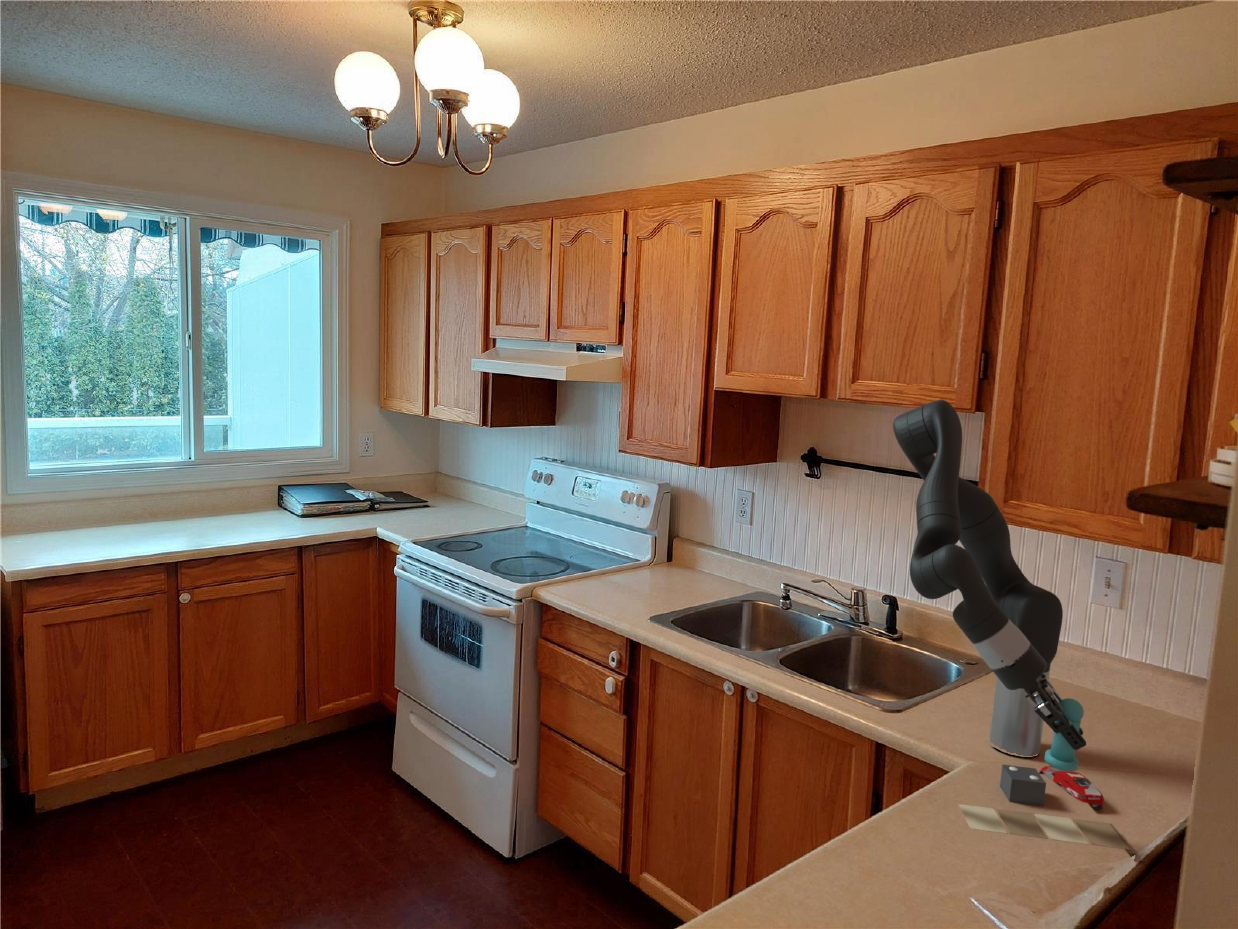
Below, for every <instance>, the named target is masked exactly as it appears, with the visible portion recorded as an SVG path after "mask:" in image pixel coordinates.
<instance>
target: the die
mask: <svg viewBox="0 0 1238 929" xmlns="http://www.w3.org/2000/svg"><path fill="white" fill-rule="evenodd" d="M1041 775H1042V774H1039V772H1038V770H1037V769H1036V768H1034V767H1028V766H1027V767H1026V766H1017V765H1012V764H1011V765H1009V764H1004V763H1003V764H1002V765H1001V773H1000V782H999V787H1000V789H1001V791H1002V792H1003V794H1004V796H1005V797H1006V799H1007V800H1008V802H1009V803H1017V804H1025V805H1033V806H1041V807H1043V806H1044V805H1045V804H1044V803H1045V795H1046V787H1047V782H1046V781H1045V779H1044V778H1043V777H1042V776H1041Z"/></svg>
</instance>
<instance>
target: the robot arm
mask: <svg viewBox="0 0 1238 929" xmlns="http://www.w3.org/2000/svg"><path fill="white" fill-rule="evenodd" d="M892 428H893V433H894V437H895V439H896V441H897V444H898V445H899V447H900V449H901V451H902V452H903V453H904V455H905V456H906V458H907V459H908V461H909V462H910V464H911V465H912V467H914V469H915V471H916V472H917V473H918V475H919V476H920V477H921V479H922V480H923V482H922V485H921V487H920V489H919V491H918V494H917V498H916V503H915V512H916V527H917V528H916V530H917V533H916V538H915V540H914V541H915V542H914V543H913V544H914V545H913V550H912V552H911V558H910V563H909V576H910V581H911V584H912V586H913V588H914V590H915V591H916V592H917V593H918V594H919V595H920V596H922V597H923V598H925V599H927V600H928V599H929V600H937V599H940V598H944V597H946V595H949V594H951V593H953V592H955V591H957V590H959V592H960V594H961V595H962V599H963V600H962V601H961V602H959V604H957V606H956V607H955V608H954V609H953V610H952V618H953V620H954V622H955V623H956V625H957V626H958V628H960V630H961V631H962V632H963V634H964V635H965V636H966V637H967V639H968V640H969V641H970V643H972V645H973V646H974V649H975V650H976V651H977V653H978V654H979V656H980V658H981V659H982V660H983V661H984V662H985V663H986V665H987V666H988V667H989V669H990V670H991V671H992V672H993V674H994V675H995V676H996V680H995V689H994V690H995V691H994V699H993V707H992V714H991V715H992V716H991V721H990V722H991V724H990V733H989V739H990V742H991V743H993V744H994V745H995V746H998V747H999V748H1000V749H1004V750H1006V751H1007V752H1010V753H1016V754H1018V755H1023V756H1033V755H1036V754H1038V753H1039V752H1041V746H1042V736H1043V730H1044V723H1045V724H1047V725H1048V727H1049V728H1051V730H1052V731H1053V733H1054V732H1055V733H1056V734H1057V733H1059V732H1060V733H1061V734H1062V736H1063V737H1064V738H1065V739H1066V741H1067V742H1068V743H1069V744H1070V746H1071V747H1072V748H1073V749H1074V750H1076V751H1078V750H1080V749H1082V748H1084V747H1086V746H1087V742H1086V739H1085V738H1084V737H1083V736H1084V730H1083V728H1081V726H1080V729H1079V732H1078V731H1077V729H1076V728H1075V727H1074V726H1073V725H1072V723H1071V721H1070V719H1068V718H1067V716H1066V715H1065V714H1064V712H1063V710H1064V707H1063V706H1062V704H1061V703H1060V701H1061V700H1063V698H1062V697H1061V695H1060V693H1058V692H1057V690H1056V689H1055V688H1054V687H1053V684H1052V683H1051V681H1050V680H1049V679H1050V672H1051V671H1050V670H1051V664H1052V662H1053V660H1054V658H1055V657H1056V655H1057V653H1058V648H1059V642H1060V637H1061V630H1062V625H1063V615H1064V614H1063V613H1064V612H1063V611H1064V610H1063V606H1062V602H1061V599H1059V597H1058V595H1056V594H1055V593H1054V592H1051V591H1049V590H1047V589H1044V588H1043V587H1041V586H1038V585H1035V584H1033V583H1032V582H1031V581H1029V579H1028V578H1027V576H1025V574H1024V573H1023V572H1022V569H1020V567H1019V565H1018V564H1017V561H1016V560H1015V558H1014V556H1013V552H1012V547H1011V546H1012V545H1011V534H1010V533H1011V532H1010V529H1009V526H1008V523H1007V520H1006V519H1005V517H1004V515H1003V514H1002V512H1001V510H1000V509H999V507H998V505H997V502H996V501H995V500H994V498H993V497H992V496H991V495H990V494H989V493H988V492H987V491H985V490H984V489H982V488H981V487H979V486H977V485H976V484H974V483H972V482H970V481H968V480H966V479H965V478H963V477H961V476H960V470H961V459H962V450H963V449H962V448H963V428H962V423H961V419H960V417H959V415H958V413H957V411H956V409H955V408H954V406H952V404H951V403H949V401H947V400H945V399H937V400H933V401H931V402H928V403H925V404H923V405H920V406H918V407H916V408H913V409H911V410H909V411H906V412H904V413H902V414H900V415H898V416H896V417H895V418H894V419H893V423H892ZM958 542H960V544H961V545H962V546H959V545H958V544H957V543H958ZM1058 720H1061V721H1060V722H1058V723H1056V721H1058Z"/></svg>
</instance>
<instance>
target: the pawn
mask: <svg viewBox="0 0 1238 929" xmlns="http://www.w3.org/2000/svg"><path fill="white" fill-rule="evenodd" d="M1060 703H1061V704H1062V706H1063V707H1064V710H1063V712H1064V714H1065V715H1066V716H1067V718H1068V719H1070V721H1071V723H1072V725H1073V726H1074V727H1075V728H1076V729H1077V731H1078V732H1079V729H1080V727H1081V722H1082V720H1083V717H1084V714H1085V711H1084V707H1083V705H1082V704H1081V703H1080V701H1078V700H1076V699H1074V698H1069V697H1067V698H1064V699H1063V698H1062V700H1061V701H1060ZM1060 721H1061V720H1058V721H1056V723H1058V722H1060ZM1051 741H1052V743H1051V748H1049V749H1047V750H1046V751H1045V754H1044V762H1045V763H1046V764H1047V766H1052V767H1053V768H1056V769H1059V770H1062V771H1068V772H1072V771H1073V772H1077V770H1078V766H1079V761H1080V760H1079V758H1077V757H1076V756H1075V755H1076V751H1077V750H1074V749H1073V748H1072V747H1071V746H1070V744H1069V743H1068V742H1067V741H1066V739H1065V738H1064V737H1063V736H1062V734H1061V733H1060V732H1059V733H1057V734H1056V733H1055V732H1054V731H1053V737H1052V740H1051Z"/></svg>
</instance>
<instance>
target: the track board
mask: <svg viewBox="0 0 1238 929" xmlns="http://www.w3.org/2000/svg"><path fill="white" fill-rule="evenodd" d="M958 807H959V808H960V810H961V813H962V815H963V817H964V819H965V821H966V822H967V824H968V826H969V829H970V830H977V831H985V832H993V833H1001V834H1010V835H1015V836H1023V837H1032V838H1039V839H1045V840H1048V838H1049V839H1050V840H1053V841H1062V842H1067V843H1068V842H1069V843H1075V844H1085V845H1089V843H1090V845H1092V846H1098V847H1107V848H1114V849H1121V850H1122V849H1123V850H1125V852H1126V853H1127V854H1128V856H1129V857H1130V858H1131V857H1132V856H1134V855H1136V856H1137V853H1136V852H1135V850H1134V849H1133V848H1132V847H1131V845H1130V844H1129V843H1128V842H1127V841H1126V839H1125V838H1124V837H1123V836H1122V834H1121V833H1120V832H1119V831H1118V830H1117V828H1116V827H1115V826H1114V825H1113V823H1108V822H1103V821H1094V820H1085V819H1079V818H1072V819H1071V818H1070V817H1065V816H1064V817H1063V816H1054V815H1047V814H1039V813H1034V815H1033V814H1032V813H1030V812H1024V811H1023V812H1022V811H1016V810H1010V809H1009V810H1007V809H999V808H995V809H994V808H992V807H985V806H977V805H976V806H975V805H969V804H963V803H962V804H960V803H958ZM996 811H997V812H996ZM1034 816H1035V817H1034ZM1001 820H1002V821H1001ZM1073 821H1074V822H1073ZM1002 822H1003V823H1002ZM1040 825H1041V826H1040ZM1004 826H1005V827H1006V828H1005V827H1004ZM1041 827H1042V828H1043V829H1042V828H1041ZM1077 827H1078V828H1079V829H1078V828H1077ZM1006 829H1007V830H1006ZM1007 831H1008V832H1007ZM1044 831H1045V832H1044ZM1045 833H1046V834H1045ZM1084 836H1085V837H1084Z"/></svg>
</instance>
